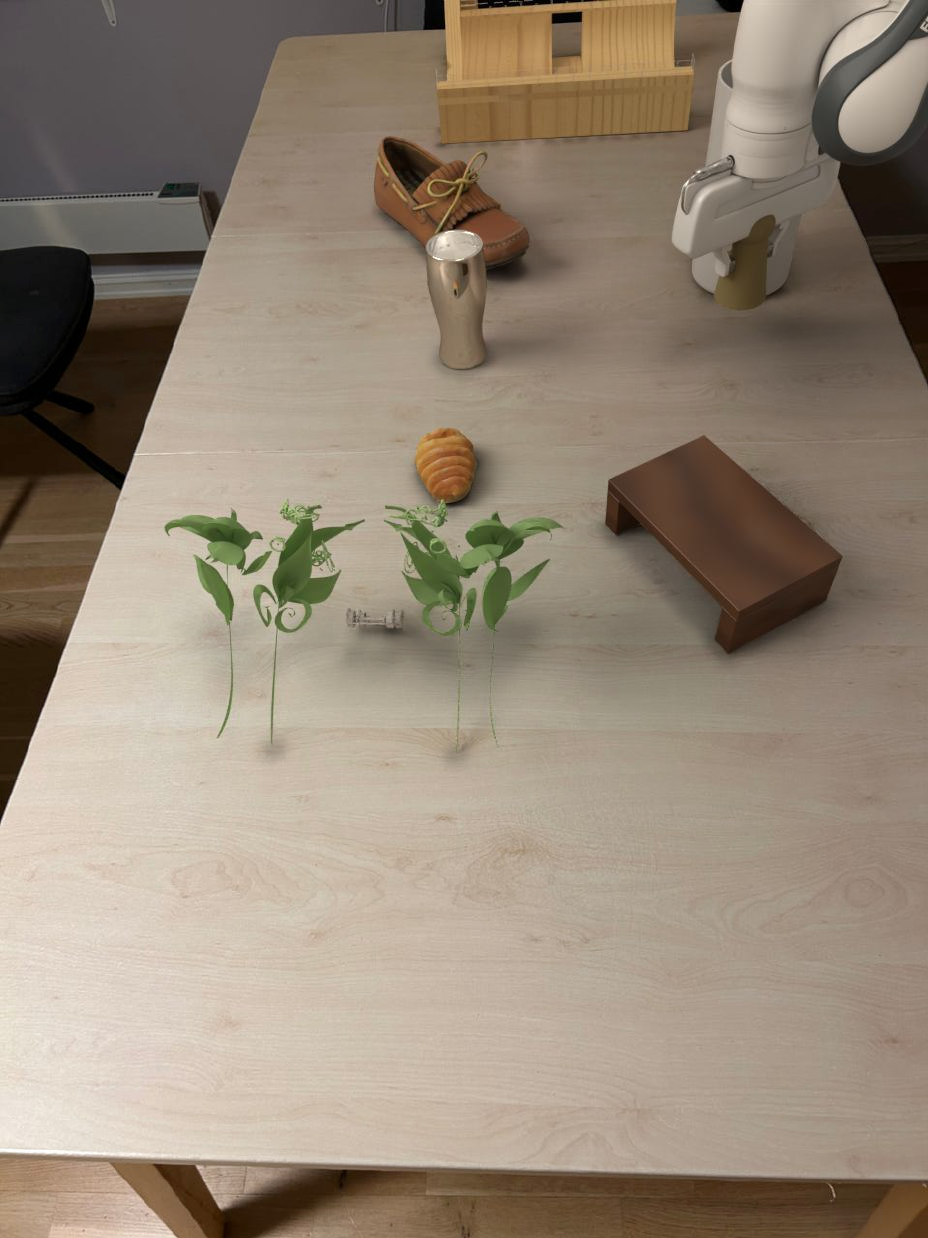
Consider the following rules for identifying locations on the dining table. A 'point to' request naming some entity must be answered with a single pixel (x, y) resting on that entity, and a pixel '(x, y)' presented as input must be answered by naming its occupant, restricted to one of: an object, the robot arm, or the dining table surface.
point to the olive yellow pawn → (747, 269)
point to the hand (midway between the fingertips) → (745, 263)
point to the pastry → (446, 464)
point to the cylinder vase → (706, 264)
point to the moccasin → (443, 200)
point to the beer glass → (458, 296)
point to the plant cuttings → (432, 568)
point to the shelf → (726, 537)
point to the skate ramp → (561, 72)
